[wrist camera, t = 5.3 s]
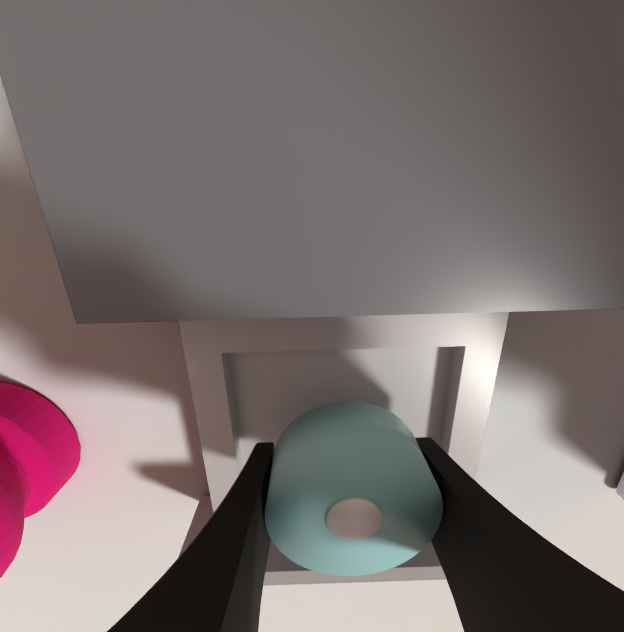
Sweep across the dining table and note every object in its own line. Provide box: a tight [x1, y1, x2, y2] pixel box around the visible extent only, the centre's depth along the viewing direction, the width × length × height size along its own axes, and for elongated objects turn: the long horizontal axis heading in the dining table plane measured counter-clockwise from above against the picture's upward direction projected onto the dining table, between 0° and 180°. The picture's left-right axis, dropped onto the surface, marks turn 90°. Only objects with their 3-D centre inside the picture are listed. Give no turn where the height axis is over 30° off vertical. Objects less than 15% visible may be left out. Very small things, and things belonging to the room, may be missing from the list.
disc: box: [265, 402, 443, 576], centre depth 10 cm, size 5×5×2 cm
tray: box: [178, 312, 509, 585], centre depth 11 cm, size 14×14×3 cm
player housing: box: [0, 0, 624, 324], centre depth 7 cm, size 14×14×4 cm
